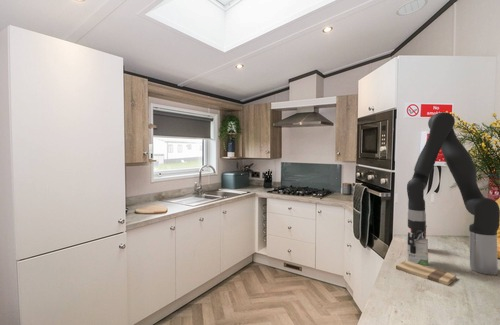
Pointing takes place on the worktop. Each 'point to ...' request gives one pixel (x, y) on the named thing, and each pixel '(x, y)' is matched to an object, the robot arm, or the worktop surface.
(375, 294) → the worktop surface
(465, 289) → the worktop surface
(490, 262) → the robot arm
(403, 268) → the board
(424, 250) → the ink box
